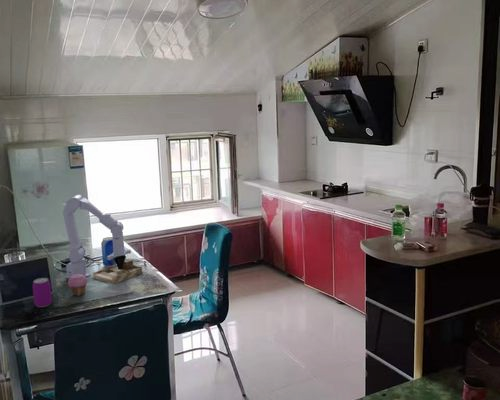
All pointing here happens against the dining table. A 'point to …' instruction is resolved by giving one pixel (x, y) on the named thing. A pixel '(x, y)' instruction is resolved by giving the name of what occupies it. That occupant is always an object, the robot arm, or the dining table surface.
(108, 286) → the dining table surface
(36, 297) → the beverage can
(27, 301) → the dining table surface
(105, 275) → the divided beige tray
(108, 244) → the beer can
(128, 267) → the walnut block
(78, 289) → the cupcake
